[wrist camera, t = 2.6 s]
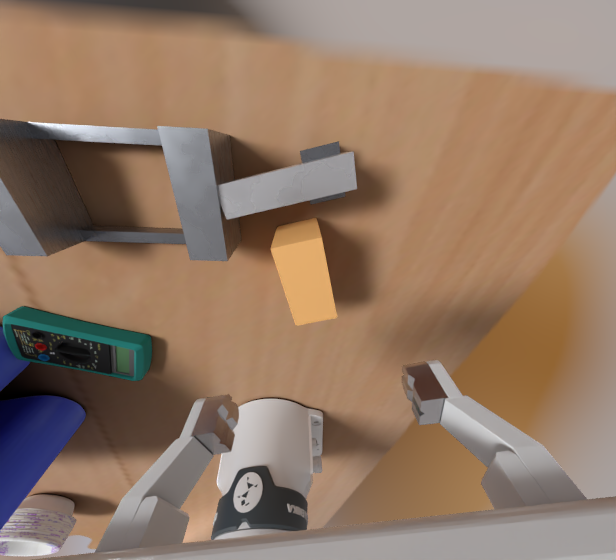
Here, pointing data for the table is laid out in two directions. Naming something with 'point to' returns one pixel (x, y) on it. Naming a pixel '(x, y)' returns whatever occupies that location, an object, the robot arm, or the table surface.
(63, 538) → the paper bowls
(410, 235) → the table surface
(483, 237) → the table surface
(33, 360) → the digital multimeter
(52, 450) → the caddy
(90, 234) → the grey long piece
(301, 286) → the light orange rectangular block
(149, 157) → the table surface
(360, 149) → the table surface
